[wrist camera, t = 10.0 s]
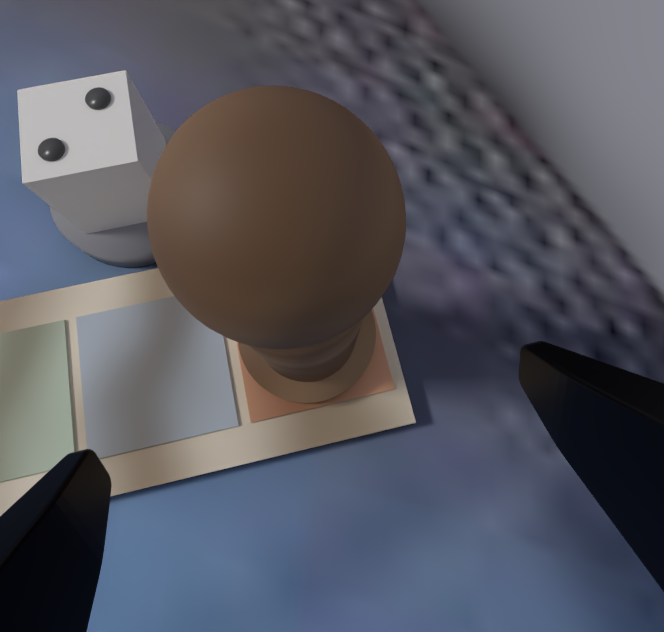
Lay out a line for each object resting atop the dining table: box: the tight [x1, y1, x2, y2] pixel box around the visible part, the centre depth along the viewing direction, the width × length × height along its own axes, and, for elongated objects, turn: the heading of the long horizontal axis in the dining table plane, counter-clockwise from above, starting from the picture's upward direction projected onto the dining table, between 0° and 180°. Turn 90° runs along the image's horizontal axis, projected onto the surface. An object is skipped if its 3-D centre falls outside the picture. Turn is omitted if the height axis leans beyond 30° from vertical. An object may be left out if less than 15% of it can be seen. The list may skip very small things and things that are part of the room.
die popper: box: [17, 70, 176, 268], centre depth 18 cm, size 7×7×5 cm
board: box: [0, 268, 416, 516], centre depth 18 cm, size 20×9×1 cm, turn 103°
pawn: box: [147, 86, 406, 404], centre depth 12 cm, size 6×6×13 cm
